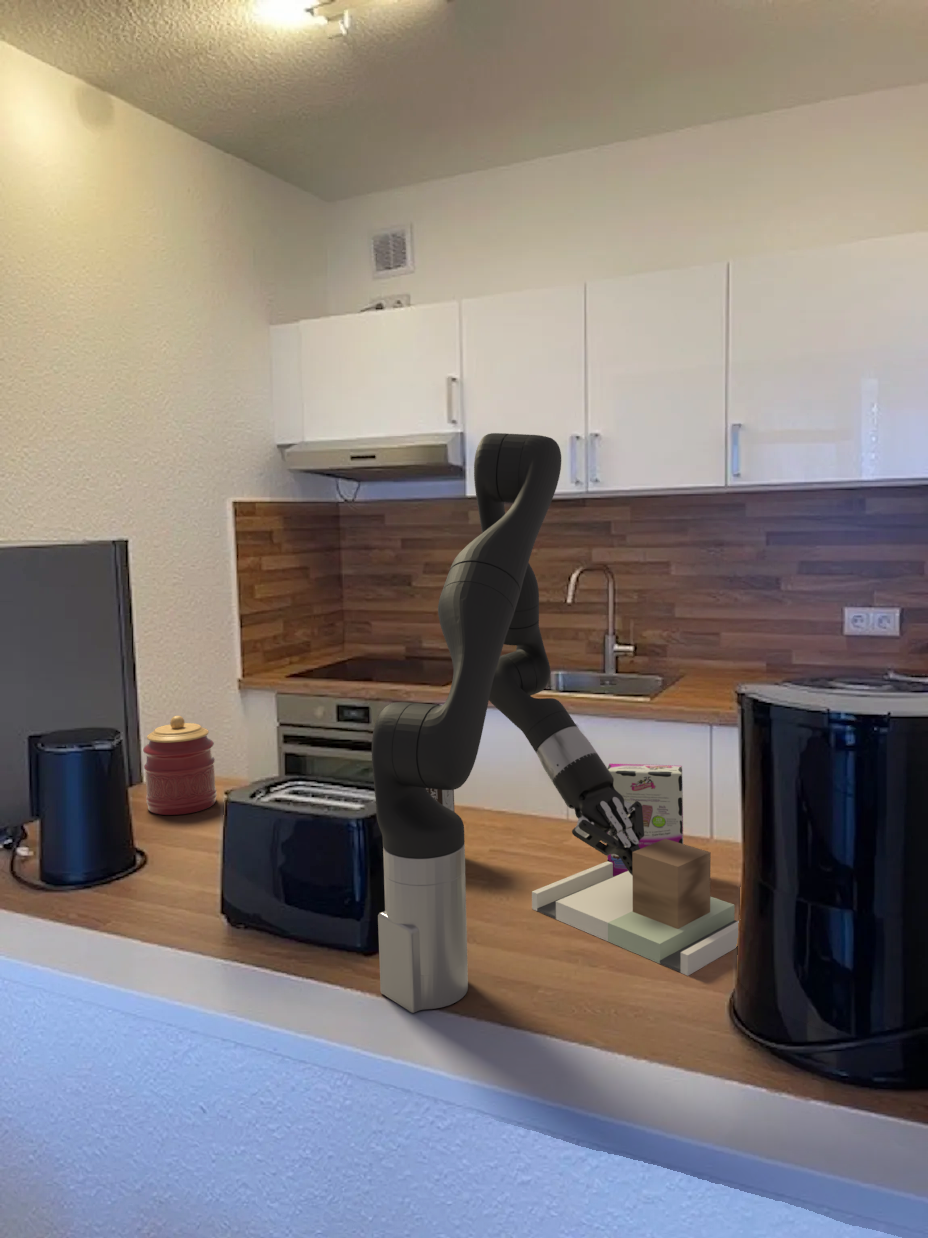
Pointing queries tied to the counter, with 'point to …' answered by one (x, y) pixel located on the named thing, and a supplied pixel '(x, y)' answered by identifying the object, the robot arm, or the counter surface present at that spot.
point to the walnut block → (671, 882)
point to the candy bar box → (651, 802)
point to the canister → (179, 769)
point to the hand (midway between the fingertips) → (644, 875)
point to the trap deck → (636, 920)
